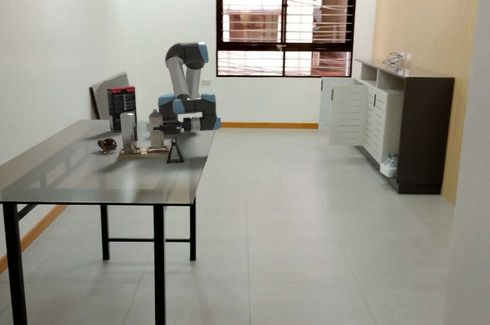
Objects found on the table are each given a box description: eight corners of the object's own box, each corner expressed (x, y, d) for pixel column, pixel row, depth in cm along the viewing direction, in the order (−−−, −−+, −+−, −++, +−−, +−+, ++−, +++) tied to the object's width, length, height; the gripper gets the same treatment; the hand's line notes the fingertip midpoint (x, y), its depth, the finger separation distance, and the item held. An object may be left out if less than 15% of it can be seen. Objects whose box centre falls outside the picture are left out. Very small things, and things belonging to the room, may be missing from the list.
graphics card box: (133, 126, 346) (129, 85, 339) (138, 128, 341) (135, 86, 334) (109, 130, 335) (105, 88, 328) (115, 132, 330) (111, 89, 323)
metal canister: (123, 151, 273) (120, 113, 268) (138, 150, 274) (135, 112, 269) (123, 154, 266) (119, 115, 261) (138, 153, 268) (135, 114, 262)
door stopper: (185, 159, 264) (183, 136, 261) (184, 162, 258) (183, 139, 255) (167, 160, 263) (165, 136, 260) (166, 163, 258) (164, 139, 254)
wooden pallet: (119, 155, 275) (118, 148, 274) (169, 151, 280) (168, 145, 279) (118, 160, 265) (118, 153, 264) (170, 156, 269) (170, 150, 268)
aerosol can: (164, 145, 276) (162, 108, 271) (164, 148, 269) (161, 110, 264) (151, 146, 275) (148, 108, 270) (150, 149, 269) (147, 110, 263)
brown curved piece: (121, 150, 288) (120, 139, 282) (112, 161, 282) (111, 150, 276) (101, 143, 290) (100, 132, 284) (93, 154, 284) (91, 143, 278)
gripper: (193, 135, 264) (147, 138, 260) (189, 127, 283) (146, 130, 279) (192, 120, 262) (146, 123, 258) (189, 114, 281) (145, 116, 277)
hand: (146, 127), depth 268 cm, fingers closed on aerosol can, 7 cm apart
